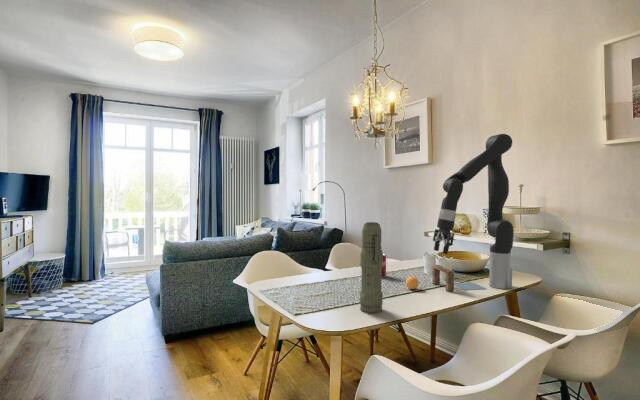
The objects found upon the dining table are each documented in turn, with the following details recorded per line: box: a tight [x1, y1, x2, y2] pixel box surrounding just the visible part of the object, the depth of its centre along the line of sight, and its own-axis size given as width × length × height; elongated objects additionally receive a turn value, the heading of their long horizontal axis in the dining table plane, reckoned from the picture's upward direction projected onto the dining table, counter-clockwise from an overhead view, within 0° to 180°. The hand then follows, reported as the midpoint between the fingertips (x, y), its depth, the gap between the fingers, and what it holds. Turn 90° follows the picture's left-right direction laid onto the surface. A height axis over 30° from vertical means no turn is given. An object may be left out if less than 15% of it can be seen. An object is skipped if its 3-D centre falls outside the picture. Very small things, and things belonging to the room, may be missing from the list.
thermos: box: [359, 221, 384, 315], centre depth 143 cm, size 9×12×35 cm
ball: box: [405, 276, 420, 290], centre depth 173 cm, size 6×6×6 cm
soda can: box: [381, 253, 387, 279], centre depth 198 cm, size 7×7×12 cm
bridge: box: [431, 264, 455, 293], centre depth 176 cm, size 3×15×10 cm, turn 10°
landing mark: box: [454, 281, 488, 291], centre depth 179 cm, size 12×12×1 cm
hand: (440, 252), depth 173 cm, fingers open, 8 cm apart
